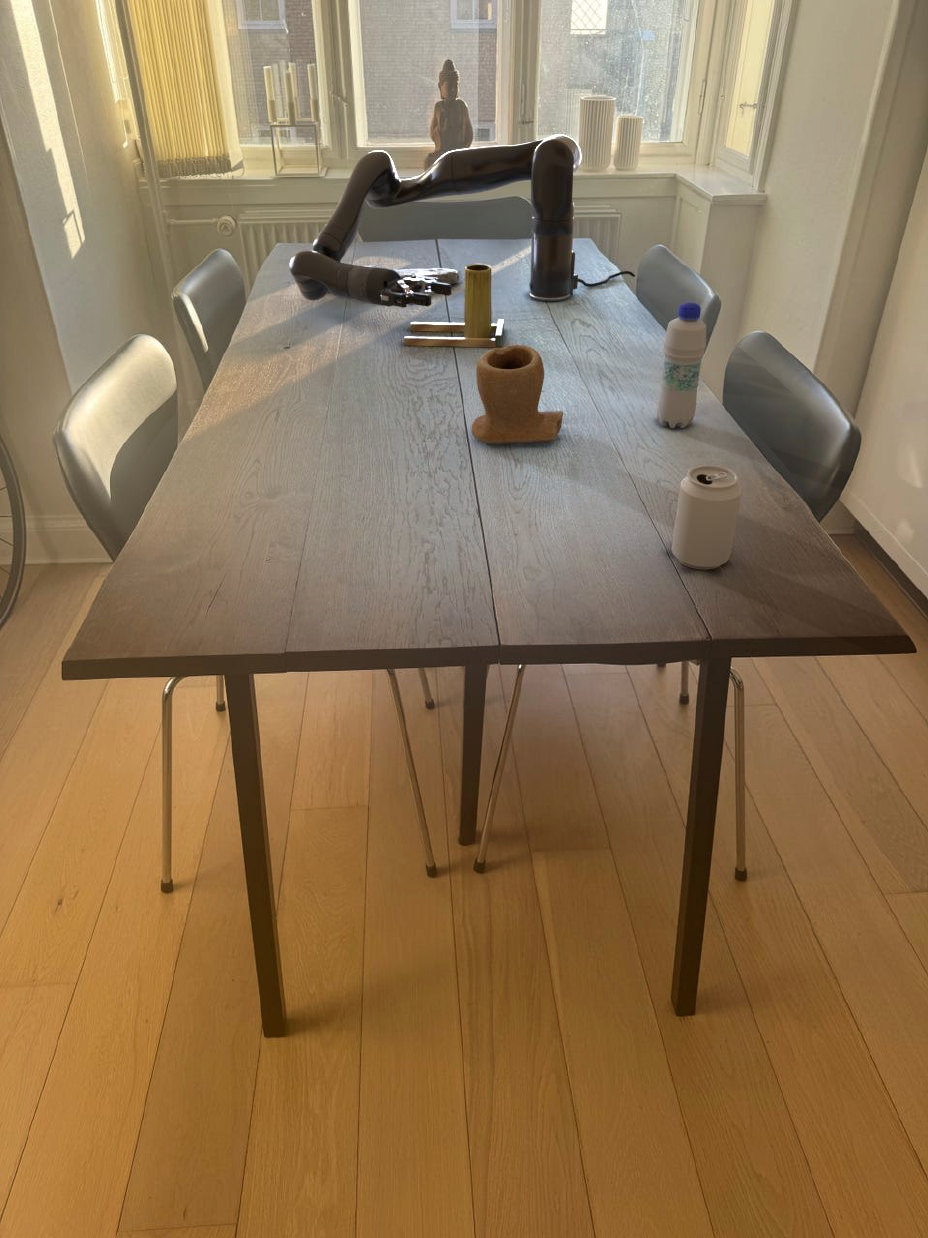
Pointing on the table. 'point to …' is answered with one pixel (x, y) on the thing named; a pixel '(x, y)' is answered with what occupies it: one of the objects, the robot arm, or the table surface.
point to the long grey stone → (432, 274)
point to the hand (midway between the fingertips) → (440, 295)
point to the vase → (477, 302)
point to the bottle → (681, 367)
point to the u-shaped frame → (453, 340)
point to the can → (706, 516)
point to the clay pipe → (513, 398)
